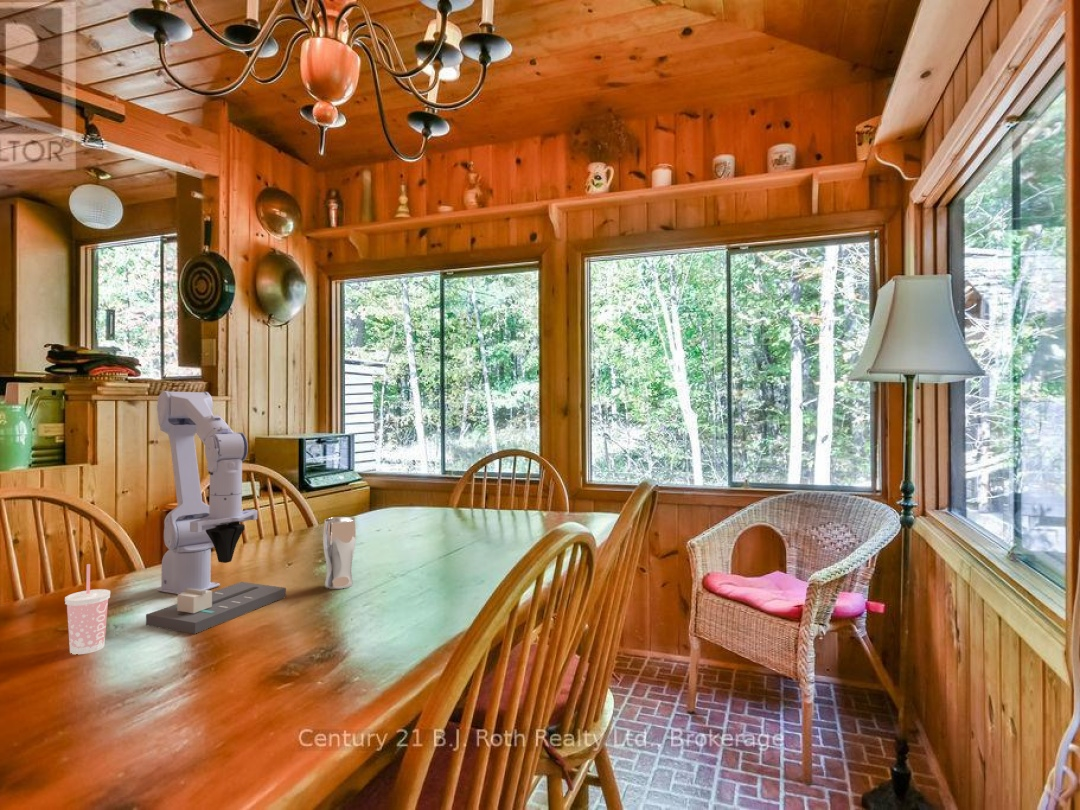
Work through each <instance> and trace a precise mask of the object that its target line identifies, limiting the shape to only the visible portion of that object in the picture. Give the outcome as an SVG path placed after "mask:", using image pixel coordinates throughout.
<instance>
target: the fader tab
mask: <svg viewBox="0 0 1080 810" xmlns="http://www.w3.org/2000/svg"><path fill="white" fill-rule="evenodd" d="M212 592H213V590H210V589H208V590H203V589H194V588H186V589H184V593H181V594H177V603H176V604H177V611H182V612H188V613H196V612H199V611H201V610H204V609H207V608H210V607H212Z"/></svg>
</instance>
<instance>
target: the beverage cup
mask: <svg viewBox="0 0 1080 810" xmlns="http://www.w3.org/2000/svg"><path fill="white" fill-rule="evenodd" d="M85 582H86V586H85V587H86V588H85V589H86V590H82V591H78V592H73V593H71V594H68V595H67V596H65V597H64V602H65V603H64V605H66V613H67V627H68V640H69V641H68V643H69V654H71V653H72V654H71V655H76V654H78V655H86V654H91V653H95V652H97V651H100V650H102V649H103V648H105V643H106V642H105V641H106V632H107V631H106V630H107V617H108V603H109V599H110V598H111V590H110V589H104V588H98V589H91V564H90V563H88V564H86V581H85Z"/></svg>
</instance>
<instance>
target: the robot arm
mask: <svg viewBox="0 0 1080 810" xmlns="http://www.w3.org/2000/svg"><path fill="white" fill-rule="evenodd" d="M213 404H214V403H213V398H212V395H211V394H210V393H209V391H203V392H202V391H201V392H197V391H168V390H163V391H162V392H161V393H160V394H159V395H158V398H157V405H156V411H157V419H158V425H159V430H160V431H161V432H163V433H165V434H167V435H168V440H169V447H170V453H171V460H172V469H173V470H172V471H173V478H174V485H175V494H176V502H177V503H176V504H177V505H176V507H174V508H173V509H172V510H170V511H169V512H168V513H167V515H166V516H165V517H164V522H163V523H164V529H163V541H164V545H165V547H166V548H167V549H168V550H167V551H166V552H165V553H164V554H163V557H162V560H161V581H160V582H161V584H160V585H161V586H160V587H158V588H157V591H158V592H164V593H169V594H176V595H178V594H181V593H184V589H186V588H194V589H203V590H211V589H214V588H217V587H219V586H221V583H219V582H213V581H212V582H211V579H212V578H211V576H212V574H211V572H212V569H211V568H212V563H211V562H212V548H214V550H215V554H216V557H217V561H218V563H222V564H223V563H224V564H227V563H230V562H232V561H233V556H234V552H235V550H236V547H237V545H238V541H239V540H240V537H241V535H242V534H243V532H244V531H245V529H246V528H245V525H246V524H244V523H243V524H242V522H247V521H255V520H258V510H257V509H246V510H242V509H243V508H242V507H243V506H242V503H243V501H242V500H243V499H242V498H243V462H244V461H245V460H246V459H247V457H248V451H249V443H248V439H247V437H246V435H245V432H240V431H239V432H235V431H233V429H231V427H230V425H229V424H228V423H227V422H226V421H225V420H224V419H223V418H222V417H221V416H220V415H218V414H215V415H214V413H213V410H214V409H213V408H214V405H213ZM195 435H197V437H198V438H199V439H200V440H201V442H202V443H203V445H204V454H205V459H206V469H207V471H208V472H209V501H208V502H209V505H208V504H207V503H205V502H204V501H203V496H202V489H201V482H200V472H199V466H198V459H197V458H198V457H197V451H196V449H197V447H196V442H195Z"/></svg>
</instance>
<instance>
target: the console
mask: <svg viewBox="0 0 1080 810" xmlns="http://www.w3.org/2000/svg"><path fill="white" fill-rule="evenodd" d="M284 597H285V598H287V587H284V586H283V587H282V586H275V585H268V584H267V585H266V584H262V583H252V582H245V581H240V582H238V583H234V584H231V585H229V586H225V587H223V588H220V589H219V588H218V589H217V590H213V591H212V607H210V608H207V609H204V610H201V611H199V612H196V613H188V612H182V611H177V603H175V604H173V605H171V606H170V605H169V606H167V607H163V608H161V609H158V610H155V611H153V612H150V613H147V614H145V616H146V617H145V626H147V625H149V626H148V627H154V628H158V627H160V628H159V629H165V630H169V629H170V631H177V632H180V631H181V632H180V633H187V634H192V635H197V634H199V633H201V631H202V632H204V631H207V630H209V629H211V628H210V627H212V628H214V627H216V626H215V625H217V626H218V624H219V625H221V624H224V623H226V622H229V621H231V620H233V618H234V619H236V618H238V616H239V617H241V616H244V615H246V614H248V613H250V611H251V612H253V611H255V609H256V610H258V609H261V608H263V607H265V605H266V606H267V604H268V605H270V603H271V604H273V603H275V602H274V601H276V602H278V601H280V600H283V599H285V598H284ZM282 598H283V599H282ZM279 599H280V600H279ZM277 600H278V601H277ZM272 602H273V603H272ZM262 606H263V607H262ZM260 607H261V608H260ZM245 613H246V614H245ZM243 614H244V615H243ZM235 617H236V618H235ZM230 619H231V620H230ZM228 620H229V621H228ZM225 621H226V622H225ZM223 622H224V623H223ZM220 623H221V624H220ZM213 626H214V627H213ZM208 628H209V629H208ZM206 629H207V630H206ZM203 630H204V631H203ZM198 632H199V633H198ZM196 633H197V634H196Z"/></svg>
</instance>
